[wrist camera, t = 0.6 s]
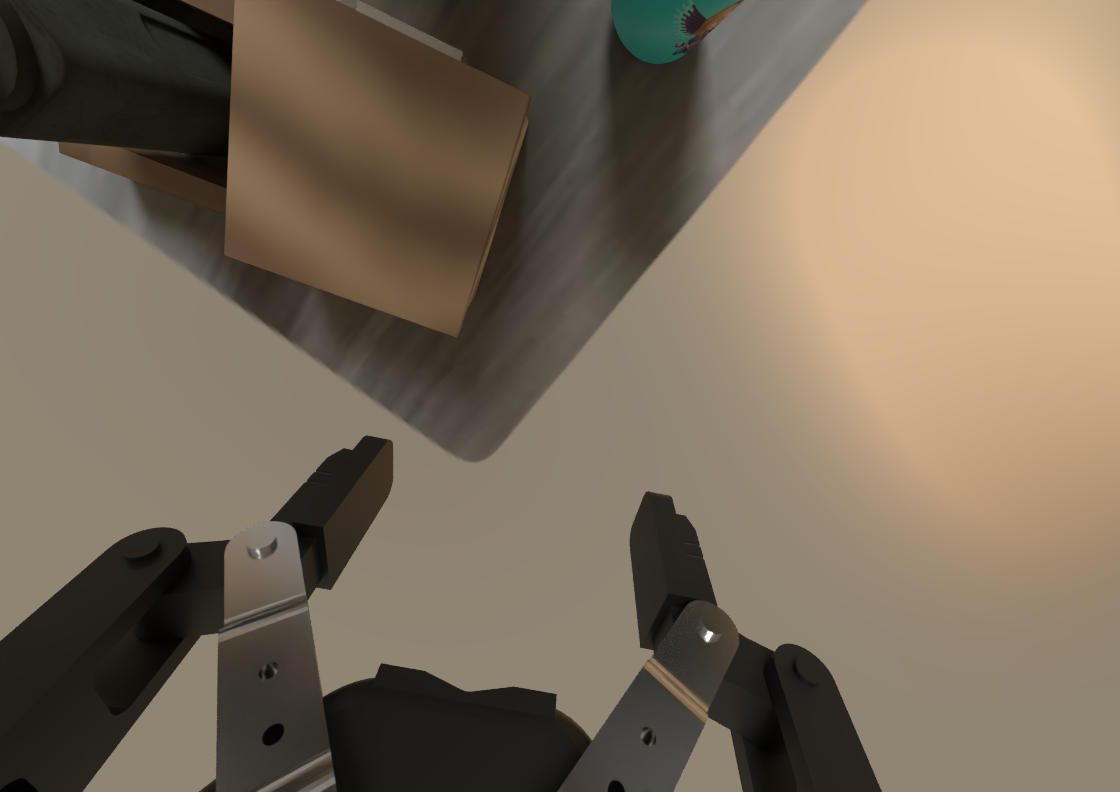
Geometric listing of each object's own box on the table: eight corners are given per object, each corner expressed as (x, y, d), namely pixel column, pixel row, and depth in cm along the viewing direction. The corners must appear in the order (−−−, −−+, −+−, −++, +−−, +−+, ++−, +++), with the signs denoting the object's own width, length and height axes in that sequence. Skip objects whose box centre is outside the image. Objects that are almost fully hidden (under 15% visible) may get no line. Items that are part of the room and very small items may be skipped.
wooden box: (110, -100, 22) (-112, -244, 14) (538, 107, 26) (535, 77, 19) (125, 181, 27) (-28, 180, 20) (474, 310, 32) (453, 348, 25)
